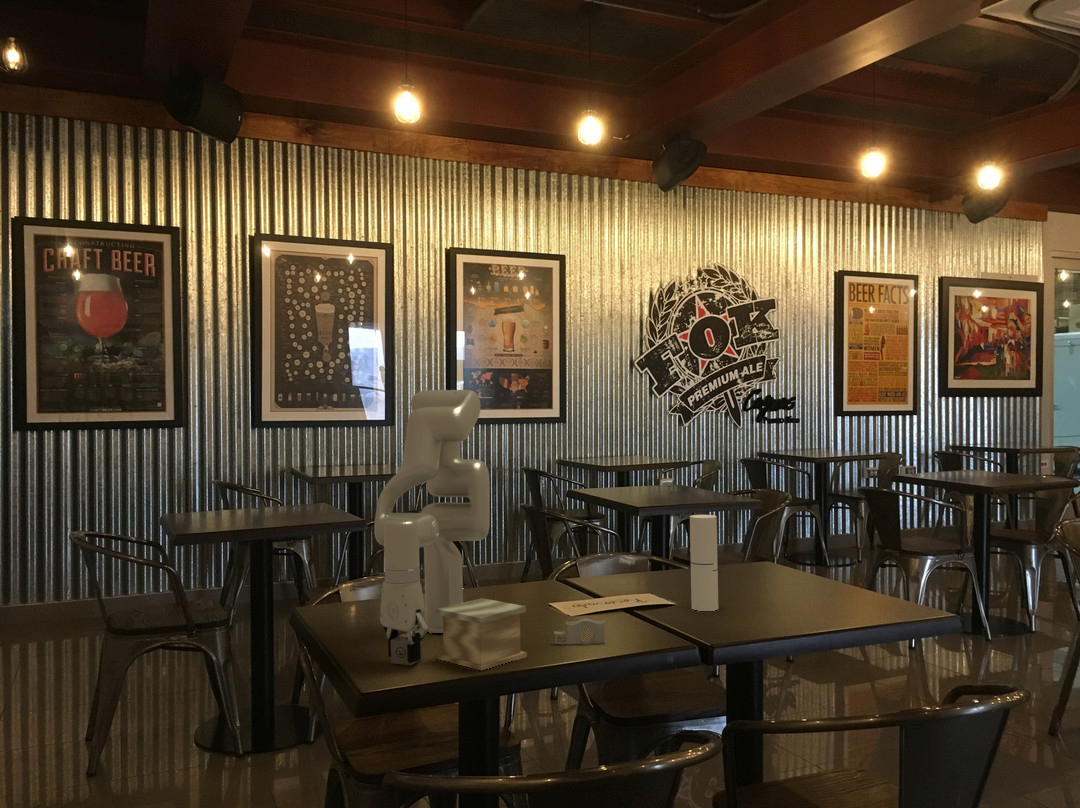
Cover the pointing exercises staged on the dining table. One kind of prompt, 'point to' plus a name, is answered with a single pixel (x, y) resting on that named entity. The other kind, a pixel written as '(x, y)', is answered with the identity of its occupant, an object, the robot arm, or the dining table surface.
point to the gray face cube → (401, 650)
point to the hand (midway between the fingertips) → (404, 657)
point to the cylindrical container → (704, 562)
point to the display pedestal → (481, 633)
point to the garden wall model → (575, 627)
